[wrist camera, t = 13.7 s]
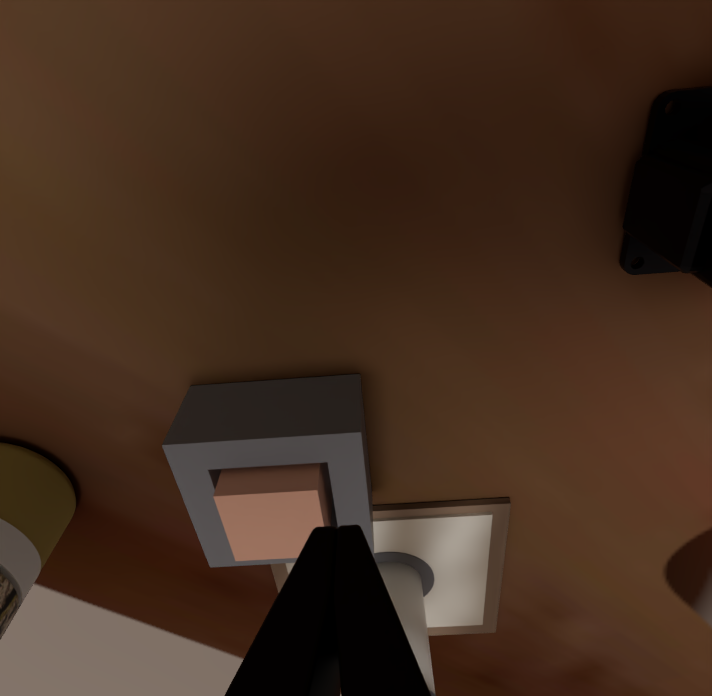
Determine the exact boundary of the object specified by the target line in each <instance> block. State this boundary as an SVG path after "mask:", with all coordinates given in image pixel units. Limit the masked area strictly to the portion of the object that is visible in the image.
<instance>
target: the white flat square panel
mask: <svg viewBox="0 0 712 696" xmlns="http://www.w3.org/2000/svg"><path fill="white" fill-rule="evenodd" d="M510 506H511V502H510V499H509V498H495V499H478V500H461V501H444V502H427V503H410V504H393V505H375V506H373V534H374V559H375V561H376V563H381V562H398V563H403V564H406V565H409V566H411V567H412V568H414V569H415V570H416V571H417V572H418V573H419V574H420V577H421V582H422V590H423V598H424V607H425V615H426V623H427V631H428V636H431V635H453V634H474V633H495V632H496V625H497V616H498V608H499V599H500V591H501V582H502V574H503V565H504V557H505V549H506V540H507V532H508V523H509V515H510ZM294 564H295V563H280V564H270V565H271V568H272V572H273V575H274V579H275V582H276V586H277V589H278V593H279V592H280V590H281V588H282V586H283V584H284V582H285V581H286V579H287V577H288V575H289V573H290V571H291V569H292V567H293V565H294Z"/></svg>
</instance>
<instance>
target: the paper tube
mask: <svg viewBox="0 0 712 696" xmlns="http://www.w3.org/2000/svg"><path fill="white" fill-rule="evenodd" d="M75 508H76V497H75V492H74V488H73V486H72V483H71V482H70V480H69V479H68V477H67V476H66V475H65V473H64V472H63V471H62V470H61V469H60V468H59V467H58V466H56V465H55V464H54V463H53V462H51V461H50V460H48V459H47V458H45V457H43V456H42V455H40V454H38V453H36V452H33V451H31V450H29V449H26V448H23V447H20V446H16V445H12V444H8V443H1V442H0V639H1V637H2V636H3V634H4V633H5V631H6V629H7V628H8V626H9V624H10V622H11V621H12V619H13V617H14V615H15V614H16V612H17V610H18V609H19V607H20V606H21V604H22V602H23V600H24V598H25V597H26V595H27V594H28V592H29V590H30V589H31V587H32V585H33V584H34V582H35V580H36V579H37V577H38V575H39V573H40V571H41V569H42V567H43V566H44V564H45V562H46V561H47V559H48V557H49V556H50V554H51V552H52V551H53V549H54V547H55V545H56V544H57V542H58V540H59V539H60V537H61V535H62V534H63V532H64V530H65V529H66V527H67V525H68V524H69V522H70V520H71V519H72V517H73V514H74V512H75Z"/></svg>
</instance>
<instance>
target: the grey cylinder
mask: <svg viewBox="0 0 712 696" xmlns="http://www.w3.org/2000/svg"><path fill="white" fill-rule="evenodd" d="M376 564H377V566H378V569H379V571H380V573H381V576H382V578H383V581H384V583H385V585H386V588H387V590H388V593H389V595H390V597H391V600H392V602H393V605H394V607H395V609H396V612H397V614H398V617H399V619H400V621H401V624H402V626H403V629H404V631H405V633H406V636H407V638H408V641H409V643H410V645H411V648H412V650H413V653H414V655H415V657H416V660H417V662H418V665H419V667H420V669H421V672H422V674H423V677H424V679H425V681H426V684H427V686H428V689H429V691H430V693H431V696H436V695H435V689H434V680H433V672H432V664H431V656H430V648H429V639H428V631H427V623H426V615H425V607H424V598H423V590H422V582H421V577H420V574H419V573H418V572H417V571H416V570H415V569H414V568H412V567H411V566H409V565H406V564H403V563H398V562H381V563H376Z"/></svg>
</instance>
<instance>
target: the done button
mask: <svg viewBox="0 0 712 696" xmlns="http://www.w3.org/2000/svg"><path fill="white" fill-rule="evenodd" d="M332 495H333V493H332V487H331V481H330V474H329V468H328V462H323V463H307V464H291V465H275V466H259V467H243V468H228V469H222V470H221V473H220V476H219V479H218V483H217V486H216V489H215V492H214V495H213V497H214V500H215V503H216V506H217V509H218V512H219V515H220V518H221V520H222V523H223V526H224V529H225V532H226V535H227V538H228V541H229V543H230V546H231V549H232V552H233V555H234V558H235V561H248V560H267V559H285V558H298V556H299V554H300V552H301V550H302V549H303V547H304V545H305V543H306V541H307V539H308V537H309V535H310V533H311V532H312V530H313V529H314V528H315V527H322V526H331V515H332Z"/></svg>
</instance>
